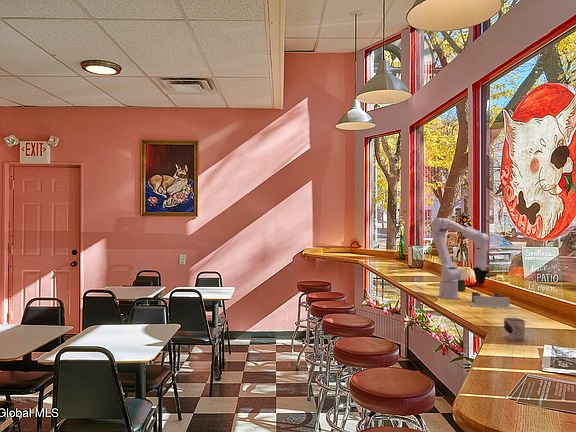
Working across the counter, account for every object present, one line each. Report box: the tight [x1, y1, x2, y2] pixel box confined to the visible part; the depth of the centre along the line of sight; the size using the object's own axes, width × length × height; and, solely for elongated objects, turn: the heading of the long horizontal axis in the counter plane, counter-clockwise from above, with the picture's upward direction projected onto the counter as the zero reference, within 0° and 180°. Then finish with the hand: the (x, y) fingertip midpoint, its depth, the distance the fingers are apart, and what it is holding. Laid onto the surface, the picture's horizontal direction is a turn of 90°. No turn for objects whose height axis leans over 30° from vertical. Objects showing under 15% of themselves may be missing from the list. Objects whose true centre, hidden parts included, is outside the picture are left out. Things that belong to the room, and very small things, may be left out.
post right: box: [493, 292, 505, 297], centre depth 237 cm, size 3×6×5 cm, turn 169°
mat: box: [468, 302, 516, 310], centre depth 230 cm, size 20×7×1 cm, turn 79°
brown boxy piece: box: [471, 291, 482, 303], centre depth 239 cm, size 3×6×5 cm, turn 169°
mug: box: [503, 317, 526, 342], centre depth 165 cm, size 10×7×7 cm
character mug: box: [457, 268, 471, 291], centre depth 282 cm, size 11×7×13 cm, turn 80°
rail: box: [474, 295, 511, 307], centre depth 230 cm, size 16×3×4 cm, turn 79°
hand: (479, 282), depth 240 cm, fingers open, 7 cm apart
